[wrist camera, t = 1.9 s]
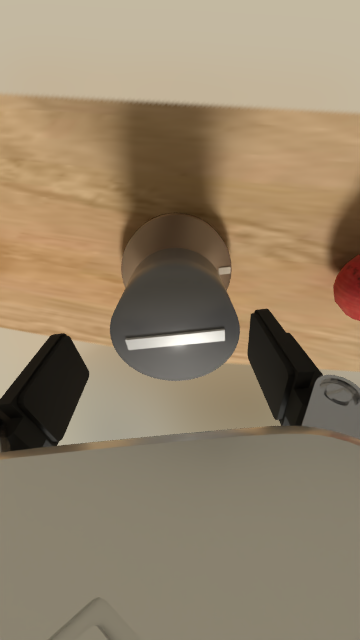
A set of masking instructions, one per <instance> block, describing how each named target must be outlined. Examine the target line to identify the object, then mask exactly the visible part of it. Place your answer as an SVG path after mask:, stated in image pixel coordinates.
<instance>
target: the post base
mask: <svg viewBox="0 0 360 640" xmlns="http://www.w3.org/2000/svg"><path fill="white" fill-rule="evenodd" d="M168 248H184V249H189V250H192V251H195V252H197V253H199V254H201V255H203V256H204V257H205V258H207V259H208V260H209V261H210V262H211V263H212V264H213V265H214V267H215V268H216V269H217V271H218V273H219V275H220V277H221V280H222V282H223V284H224V287H225V289H226V290H227V288H228V285H229V283H230V278H231V260H230V255H229V252H228V249H227V247H226V245H225V243H224V241H223V240H222V239H221V237H220V236H219V234H218V233H217V232H216V231H215V230H214V229H213V228H212V227H211V226H210V225H209V224H208V223H206V222H205V221H203V220H201V219H200V218H197V217H195V216H192V215H188V214H183V213H169V214H164V215H160V216H158V217H155V218H153V219H151V220H149V221H148V222H146V223H145V224H144V225H142V226H141V227H140V228H139V229H138V230H137V231H136V233H135V234H134V235H133V236H132V238H131V239H130V240H129V242H128V244H127V246H126V248H125V251H124V254H123V258H122V266H121V271H122V278H123V283H124V285H125V288H126V286H127V284H128V282H129V280H130V278H131V276H132V274H133V272H134V271H135V269H136V267H137V266H138V265H139V263H140V262H141V261H143V260H144V259H145V258H146V257H147V256H149V255H151V254H152V253H154V252H157V251H160V250H163V249H168Z"/></svg>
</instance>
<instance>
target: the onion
mask: <svg viewBox="0 0 360 640" xmlns="http://www.w3.org/2000/svg"><path fill="white" fill-rule="evenodd" d="M334 299H335V302H336V303H337V304H338V305H339V307H340V308H341V309H342V310H343V312H344V313H345V314H346V315H348V316H349V317H351V318H352V319H355V320H359V321H360V255H357V256H356V257H354V258H353V259H352V260H351V261H349V262H348V263H347V264H345V265H344V267H343V268H342V269H341V271H340V272H339V274H338V275H337V277H336V280H335V283H334Z"/></svg>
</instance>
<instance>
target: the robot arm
mask: <svg viewBox="0 0 360 640" xmlns="http://www.w3.org/2000/svg"><path fill="white" fill-rule="evenodd" d="M248 359H249V361H250V364H251V366H252V368H253V370H254V373H255V375H256V377H257V380H258V382H259V384H260V387H261V389H262V391H263V393H264V396H265V398H266V400H267V403H268V405H269V407H270V410H271V412H272V414H273V417H274V418H275V419H276V420H279V421H280V423H281V426H267V427H255V428H254V427H253V428H240V429H228V430H216V431H205V432H195V433H184V434H173V435H162V436H153V437H141V438H131V439H121V440H112V441H111V440H110V441H101V442H90V443H81V444H71V445H61V446H57V444H58V442H59V441H60V440H61V439H62V438H63V436H64V434H65V432H66V429H67V427H68V425H69V422H70V420H71V418H72V415H73V413H74V411H75V408H76V406H77V404H78V401H79V398H80V396H81V394H82V392H83V390H84V387H85V385H86V383H87V380H88V378H89V371H88V369H87V367H86V365H85V363H84V362H83V360H82V358H81V356H80V354H79V352H78V351H77V349H76V347H75V345H74V344H73V342H72V340H71V338H70V337H69V336H67V335H66V334H64V333H62V334H54V335H51V336H50V337H49V339H48V340H47V341H46V342H45V343H44V345H43V346H42V347H41V348H40V350H39V351H38V352H37V354H36V355H35V356H34V357H33V359H32V360H31V361H30V362H29V364H28V365H27V366H26V367H25V369H24V370H23V371H22V372H21V374H20V375H19V376H18V378H17V379H16V380H15V381H14V382H13V384H12V385H11V386H10V388H9V389H8V390H7V391H6V393H5V394H4V395H3V396H2V398H1V399H0V640H360V388H359V387H358V386H357V385H356V384H354V383H353V382H351V381H349V380H347V379H345V378H343V377H339V376H335V375H324V376H323V375H322V373H321V372H320V371H319V369H318V368H317V367H316V366H315V364H314V363H313V362H312V360H311V359H310V358H309V357H308V355H307V354H306V353H305V351H304V350H303V349H302V348H301V346H300V345H299V344H298V343H297V341H296V340H295V339H294V337H293V336H292V335H291V334H290V333H286V332H285V331H284V329H283V328H282V327H281V325H280V324H279V323H278V321H277V320H276V319H275V317H274V316H273V315H272V313H271V312H270V311H269V310H268V309H260V310H255V312H254V313H252V314H251V319H250V331H249V343H248Z"/></svg>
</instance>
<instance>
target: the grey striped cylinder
mask: <svg viewBox="0 0 360 640" xmlns="http://www.w3.org/2000/svg"><path fill="white" fill-rule="evenodd" d="M239 334H240V326H239V321H238V317H237V315H236V312H235V310H234V307H233V305H232V303H231V300H230V298H229V296H228V294H227V291H226V289H225V287H224V284H223V282H222V280H221V277H220V275H219V273H218V271H217V269H216V268H215V267H214V265H213V264H212V263H211V262H210V261H209V260H208V259H207V258H205V257H204V256H203V255H201V254H199V253H197V252H195V251H192V250H189V249H184V248H168V249H163V250H160V251H157V252H154V253H152V254H151V255H149V256H147V257H146V258H145V259H144V260H143V261H141V262H140V263H139V265H138V266H137V267H136V269H135V271H134V272H133V274H132V276H131V278H130V280H129V282H128V284H127V286H126V288H125V290H124V292H123V294H122V297H121V299H120V301H119V303H118V305H117V307H116V309H115V311H114V313H113V316H112V318H111V324H110V335H111V340H112V343H113V346H114V348H115V350H116V351H117V353H118V354H119V356H120V357H121V358H122V359H123V360H124V361H125V362H126V363H127V364H128V365H129V366H131V367H132V368H134V369H135V370H137V371H138V372H140V373H142V374H145V375H147V376H150V377H153V378H157V379H162V380H171V381H180V380H189V379H194V378H198V377H201V376H204V375H206V374H208V373H210V372H212V371H214V370H216V369H217V368H219V367H220V366H221V365H223V364H224V363H225V362H226V361H227V360H228V359H229V358H230V356H231V355H232V353H233V352H234V350H235V348H236V346H237V343H238V340H239Z"/></svg>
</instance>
